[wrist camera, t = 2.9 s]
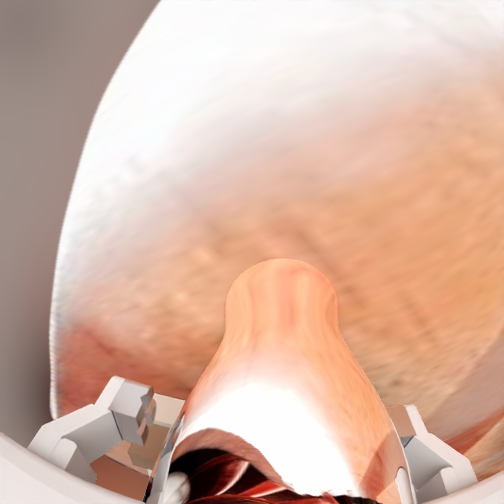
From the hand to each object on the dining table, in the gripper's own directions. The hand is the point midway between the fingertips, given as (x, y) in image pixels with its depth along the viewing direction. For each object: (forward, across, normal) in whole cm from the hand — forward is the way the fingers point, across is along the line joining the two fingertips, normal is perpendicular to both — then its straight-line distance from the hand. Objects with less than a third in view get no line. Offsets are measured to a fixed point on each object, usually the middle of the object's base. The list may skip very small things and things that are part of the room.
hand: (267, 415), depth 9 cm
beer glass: (+7, -1, 0) cm, 7 cm away
